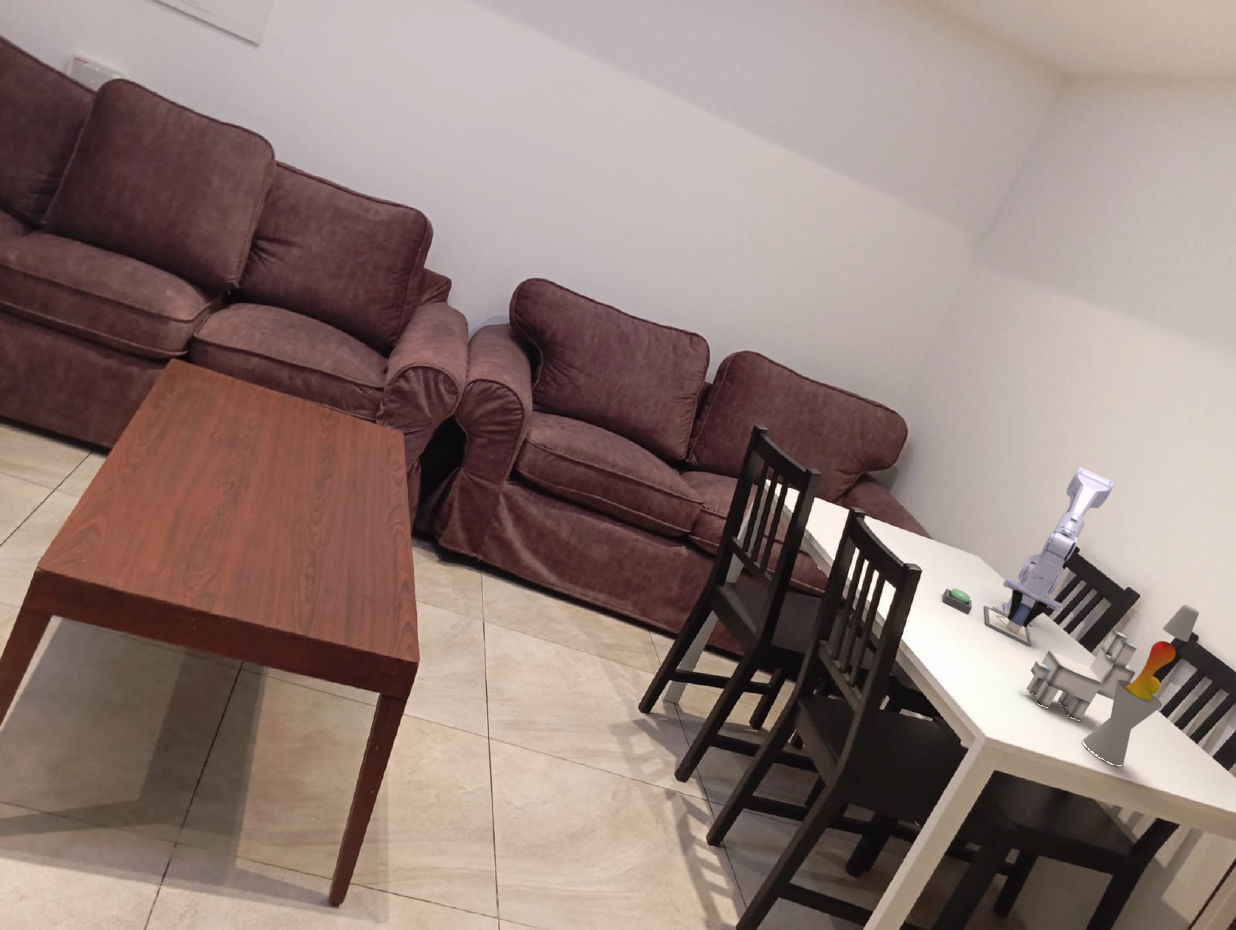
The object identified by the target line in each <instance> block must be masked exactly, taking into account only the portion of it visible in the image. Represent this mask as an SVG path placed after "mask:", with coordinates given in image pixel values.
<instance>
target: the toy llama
mask: <svg viewBox="0 0 1236 930" xmlns="http://www.w3.org/2000/svg"><path fill="white" fill-rule="evenodd" d="M1127 640H1128V638H1127V637H1126V635H1125V634H1123V633H1122V632H1119V631H1116V630H1115V629H1112V630H1111V631H1110V633H1109V635H1108V636H1107V638H1106V640H1105V642H1104V644H1103V645H1102V646H1101V648H1100V650H1099V652H1098V653H1097V655H1096V657H1095V659H1094V660H1093V662H1092V663H1091V666H1086V665H1084V664H1082V663H1079V662H1076V661H1074V660H1072V659H1069V658H1067V657H1064V656H1062V655H1060V654H1058V653H1055V652H1052V651H1050V650H1048V651H1047V652H1046V654H1045V656H1044V658H1043V660H1042V661H1041V662H1040V661H1038V660H1036V661H1035V662H1034V664H1033V666H1032V667H1031V669H1030V672H1031V674H1033V677H1032V678H1031V680H1030V682H1029V684H1028V685H1027V687H1026V690H1027V691H1028V690H1029V691H1028V693H1029V692H1030V693H1033V694H1034V695H1033V696H1034V698H1033V700H1034V699H1035V700H1036V702H1037V703H1038V704H1040V705H1043V706H1045V707H1049V708H1050V706H1051V704H1052V703H1053V701H1054V699H1055V698H1056V696H1057V694H1058V692H1059V691H1062V692H1061V694H1060V696H1059V697H1058V699H1057V701H1058V700H1059V702H1060V703H1061V705H1062V706H1063V707H1062V706H1061V705H1060V706H1061V707H1062V708H1064V707H1067V709H1066V708H1065V709H1066V710H1065V711H1066V713H1067V714H1068V715H1069V717H1072V718H1075V719H1077V720H1080V721H1081V719H1082V718H1083V716H1084V715H1085V713H1086V711H1087V710H1088V708H1089V707H1090V705H1091V703H1092V702H1093V700H1094V698H1095V697H1096V695H1097V694H1098V695H1100V696H1102V697H1105V698H1108V699H1110V700H1113V701H1114V695H1115V690H1116V684H1117V680H1125V681H1128V682H1131V681H1133V678H1134V676H1135V675H1136V672H1135V670H1133V668H1132V667H1131V666H1130V665H1129V662H1130V661H1131V660H1132V657H1133V656H1134V654H1135V653H1136V651H1137V647H1136V646H1135V644H1133V643H1131V642H1129V641H1127ZM1030 693H1029V694H1030ZM1035 695H1036V696H1035ZM1035 700H1034V701H1035ZM1036 702H1035V703H1036ZM1059 702H1058V703H1059ZM1037 703H1036V704H1037ZM1040 705H1039V706H1040ZM1066 713H1065V714H1066ZM1067 714H1066V715H1067ZM1069 717H1068V718H1069Z"/></svg>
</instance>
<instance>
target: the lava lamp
mask: <svg viewBox="0 0 1236 930" xmlns="http://www.w3.org/2000/svg"><path fill="white" fill-rule="evenodd" d="M1199 615H1200V614H1199V610H1197V609H1196V608H1194V607H1192V606H1190V605H1189V604H1183V605H1182V606H1181V607H1180V608H1179V609H1178V610H1177V611H1176V613H1175V614H1174V615H1173V616H1172V617H1171V618H1170V619H1169V621H1167V623H1166V624H1165V625H1164V626H1163V628H1162V629H1163V631H1164V632H1165V633H1167V634H1169V635H1171V636H1172V637H1174V638H1176V639H1178V640H1180V641H1183V642H1189V639H1190V637H1191V635H1192V632H1193V629H1194V627H1195V625H1196V622H1197V620H1198V618H1199ZM1176 654H1177V652H1176V649H1175V646H1173V644H1172V643H1170V642H1168V641H1165V640H1159V641H1156V642H1155V643H1153V645H1152V646H1151V648H1150V652H1149V654H1148V658H1147V659H1146V660H1147V661H1146V663H1145V664H1144V666H1143V668H1142V670H1141V672H1140V673H1139V675H1138V676H1137V677H1136V678H1135V679H1134V680H1132V682H1131V681H1130V682H1128V681H1125V680H1117V684H1116V690H1115V695H1114V700H1113V703H1112V707H1111V714H1110V717H1109V718H1108V719H1107V720H1105V721H1104V722H1103V723H1102V724H1100V725H1099V726H1097V728H1095V729H1094V730H1093V731H1092V732H1090V734H1088V735H1087V736H1086V737H1085V738H1083V739H1084V740H1083V739H1082V740H1083V741H1084V743H1085V744H1086V746H1087V748H1089V749H1090V751H1093V752H1094V754H1097V755H1098V757H1100V758H1103V759H1104V760H1105V761H1108V762H1110V763H1112V764H1114V765H1123V766H1124V763H1125V759H1126V755H1127V750H1128V745H1129V740H1130V736H1131V731H1132V729H1134V728H1135V727H1136V726H1137V725H1140V723H1142V722H1143V721H1145V720H1146V719H1147V718H1149V717H1150V716H1151V715H1153V714H1154V713H1155V712H1156V711H1158V710H1159V709H1160V708H1162V706H1163V704H1162V702H1161V701H1160V700H1159V699H1158V698H1157V697H1156V696H1155V694H1156V693H1158V692H1160V690H1161V683H1160V681H1159V679H1158V678H1157V677H1155V676H1154V674H1155V673H1156V671H1158V670H1159V669H1160V668H1161V667H1163V666H1165V665H1167V664H1169V663H1171V662H1172V661H1173V660H1174V659H1175V657H1176Z"/></svg>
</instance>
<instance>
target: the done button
mask: <svg viewBox="0 0 1236 930" xmlns="http://www.w3.org/2000/svg"><path fill="white" fill-rule="evenodd" d="M949 596H950V597H952V598H954V599H956V600H958V601H960V602H962V603H964V604H966V605H967V603H968V601H969V599H970V600H971V597H970V595H969V594H968V593H966V592H964V591H962V590H961V589H958V588H952V590H951V593H950V595H949Z"/></svg>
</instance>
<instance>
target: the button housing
mask: <svg viewBox="0 0 1236 930" xmlns="http://www.w3.org/2000/svg"><path fill="white" fill-rule="evenodd" d="M951 591H952V590H951V589H949V588H948V587H947V588H946V589H945V591H944V593H943V594H942V603H944V604H946V605H948V606H950V607H952V608H954V609H957V610H959V612H962V613H964V614H966V615H969V614H970V612H971V610H972V607H973V606H972V605H973V603H972V599H971V598H970V599H969V601H968V603H967V605H966V604H964V603H962V602H960V601H958V600H956V599H954V598H952V597H950V596H949V595H950V593H951Z"/></svg>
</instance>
